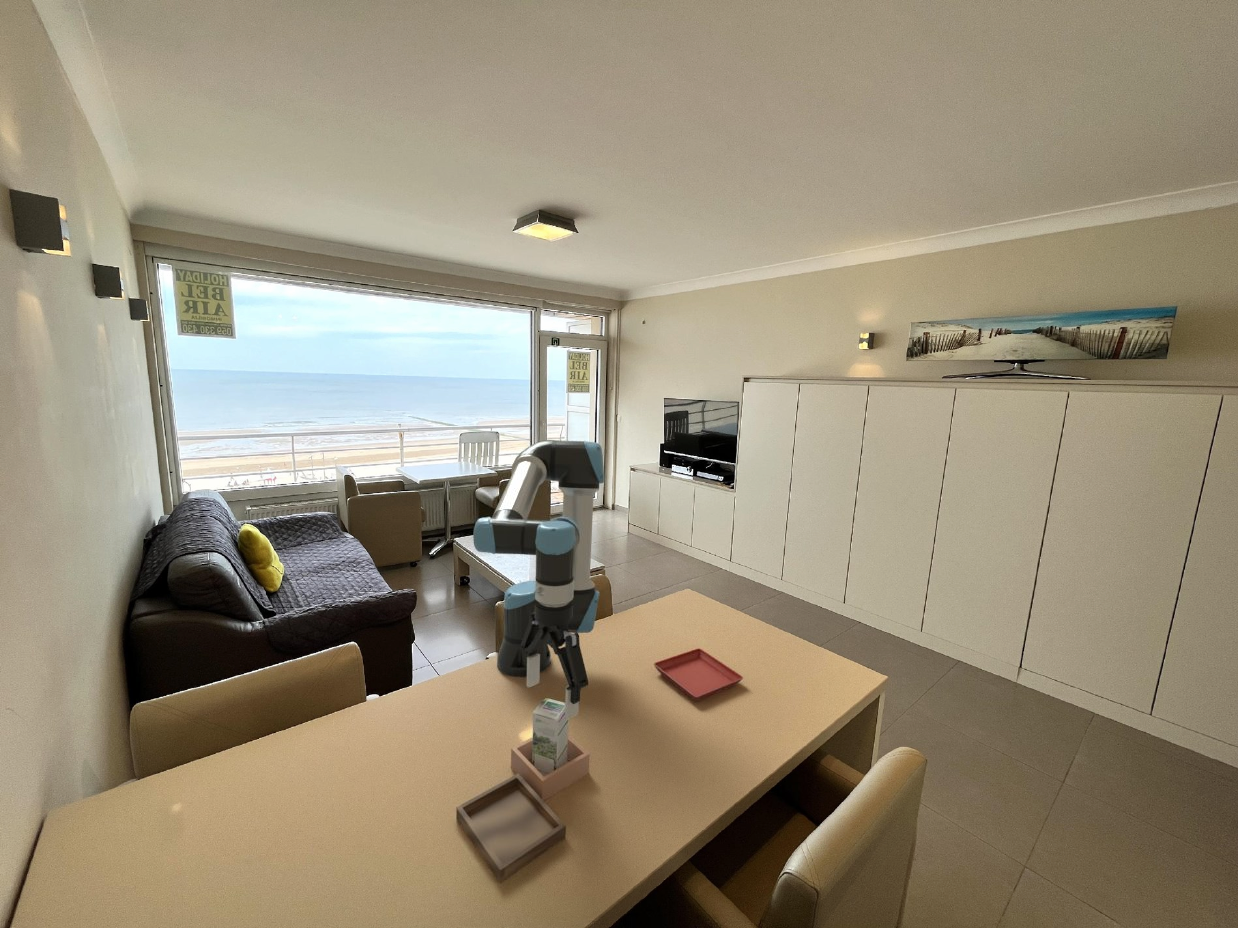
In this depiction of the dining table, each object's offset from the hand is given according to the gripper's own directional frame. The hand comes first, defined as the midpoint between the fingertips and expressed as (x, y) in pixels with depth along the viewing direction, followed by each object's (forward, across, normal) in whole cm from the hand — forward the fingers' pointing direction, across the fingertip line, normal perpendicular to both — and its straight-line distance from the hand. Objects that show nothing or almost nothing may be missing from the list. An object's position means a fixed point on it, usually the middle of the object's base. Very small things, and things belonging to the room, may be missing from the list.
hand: (551, 699), depth 103 cm
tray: (+16, +7, -13) cm, 22 cm away
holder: (+16, 0, 0) cm, 16 cm away
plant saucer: (+16, -2, +51) cm, 54 cm away
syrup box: (+16, 0, 0) cm, 17 cm away
